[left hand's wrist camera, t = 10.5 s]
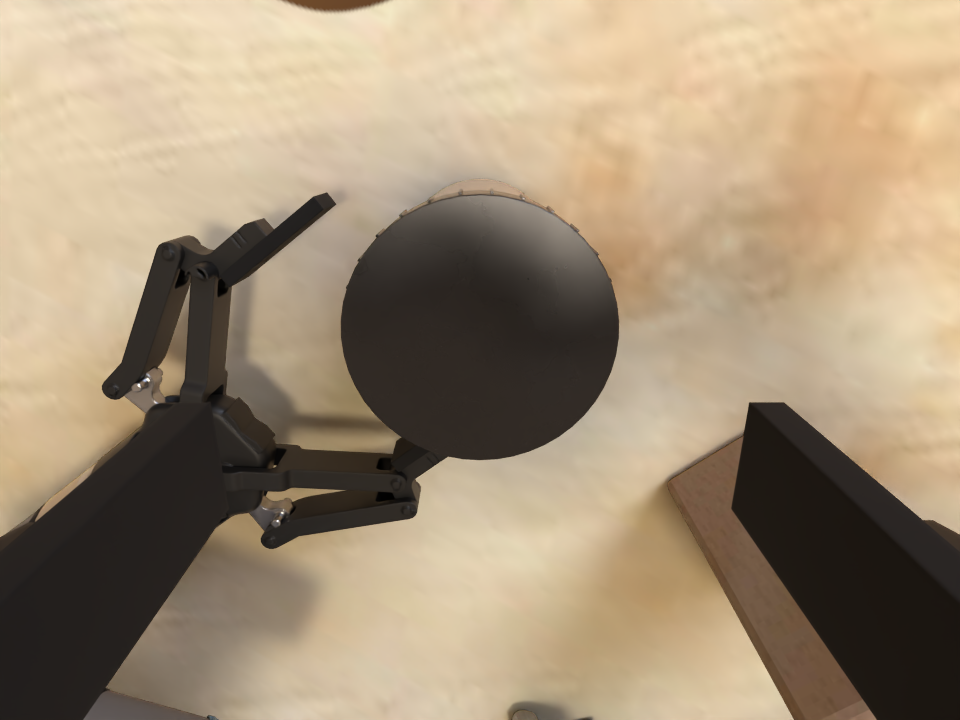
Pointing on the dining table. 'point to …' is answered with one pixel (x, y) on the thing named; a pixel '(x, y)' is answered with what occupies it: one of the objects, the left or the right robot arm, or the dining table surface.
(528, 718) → the digital clock
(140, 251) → the dining table surface
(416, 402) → the lid
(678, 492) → the wooden block
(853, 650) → the left robot arm
